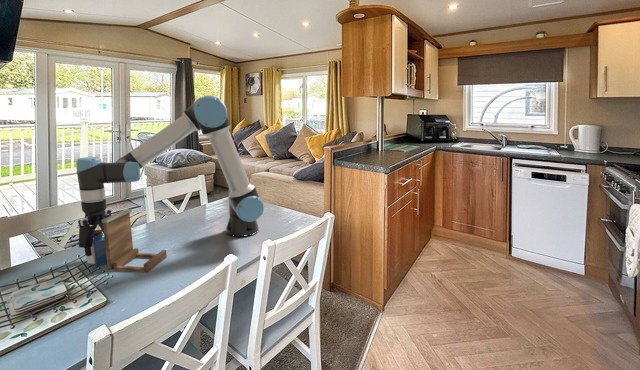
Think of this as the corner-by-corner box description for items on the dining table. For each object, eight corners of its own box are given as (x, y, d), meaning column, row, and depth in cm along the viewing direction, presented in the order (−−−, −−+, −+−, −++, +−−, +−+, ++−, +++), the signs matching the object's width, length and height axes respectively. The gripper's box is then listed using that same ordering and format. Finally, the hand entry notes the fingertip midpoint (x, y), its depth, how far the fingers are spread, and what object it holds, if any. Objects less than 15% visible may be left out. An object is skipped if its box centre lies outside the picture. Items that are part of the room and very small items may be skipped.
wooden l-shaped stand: (167, 256, 133) (163, 210, 129) (147, 272, 119) (142, 221, 115) (131, 254, 134) (126, 208, 130) (107, 270, 120) (101, 219, 116)
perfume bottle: (105, 256, 132) (102, 227, 129) (113, 260, 128) (110, 230, 126) (88, 261, 127) (84, 231, 124) (95, 266, 123) (91, 235, 121)
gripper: (104, 192, 133) (110, 246, 138) (59, 207, 112) (68, 270, 117) (122, 193, 133) (127, 247, 137) (80, 208, 112) (89, 271, 117)
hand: (100, 257), depth 127 cm, fingers closed on perfume bottle, 8 cm apart
